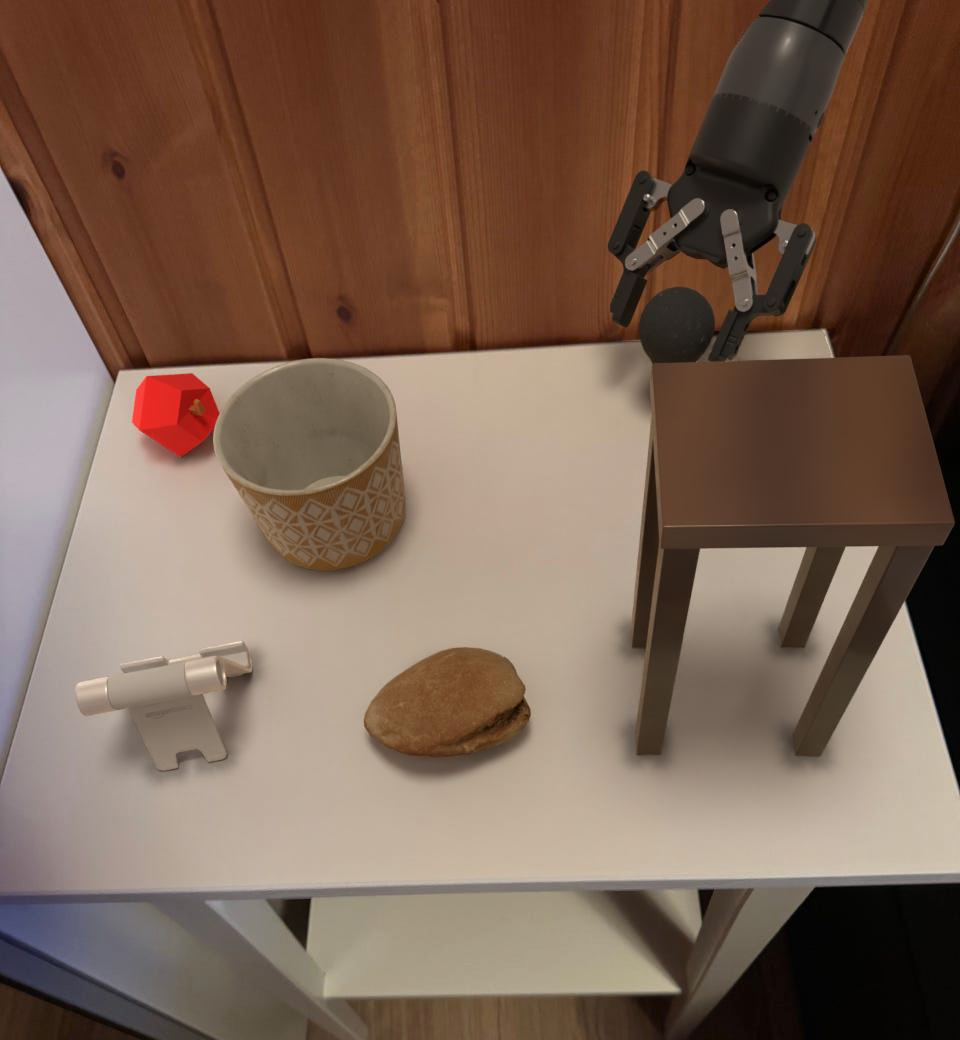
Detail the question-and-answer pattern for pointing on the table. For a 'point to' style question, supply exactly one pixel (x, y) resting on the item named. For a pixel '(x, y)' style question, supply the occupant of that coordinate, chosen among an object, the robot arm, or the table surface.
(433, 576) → the table surface
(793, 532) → the walnut stand
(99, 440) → the table surface
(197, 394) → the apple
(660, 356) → the light bulb
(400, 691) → the stone
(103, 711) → the tablet stand
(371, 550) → the planter
